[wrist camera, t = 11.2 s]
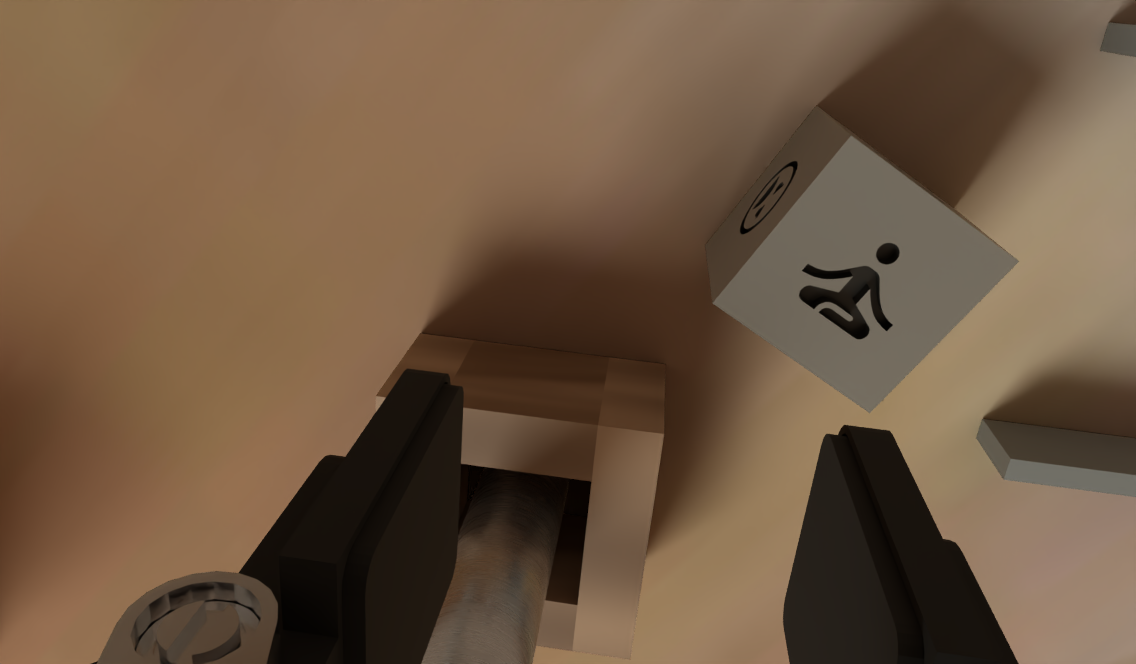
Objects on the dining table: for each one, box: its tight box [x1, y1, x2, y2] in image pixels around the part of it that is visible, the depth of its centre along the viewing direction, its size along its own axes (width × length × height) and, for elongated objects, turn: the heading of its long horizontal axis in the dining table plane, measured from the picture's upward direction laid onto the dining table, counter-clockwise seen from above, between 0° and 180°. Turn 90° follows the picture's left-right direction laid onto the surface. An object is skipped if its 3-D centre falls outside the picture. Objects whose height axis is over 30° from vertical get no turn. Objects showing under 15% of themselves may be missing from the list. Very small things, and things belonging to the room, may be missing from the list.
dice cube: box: [705, 105, 1019, 413], centre depth 22 cm, size 5×5×5 cm
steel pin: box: [421, 467, 570, 664], centre depth 23 cm, size 3×3×13 cm
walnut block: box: [376, 333, 665, 660], centre depth 27 cm, size 8×8×4 cm
